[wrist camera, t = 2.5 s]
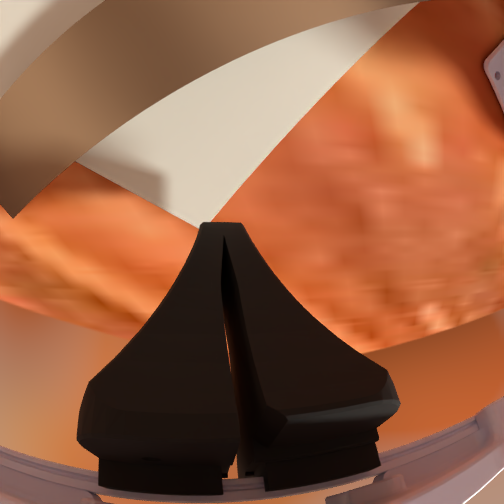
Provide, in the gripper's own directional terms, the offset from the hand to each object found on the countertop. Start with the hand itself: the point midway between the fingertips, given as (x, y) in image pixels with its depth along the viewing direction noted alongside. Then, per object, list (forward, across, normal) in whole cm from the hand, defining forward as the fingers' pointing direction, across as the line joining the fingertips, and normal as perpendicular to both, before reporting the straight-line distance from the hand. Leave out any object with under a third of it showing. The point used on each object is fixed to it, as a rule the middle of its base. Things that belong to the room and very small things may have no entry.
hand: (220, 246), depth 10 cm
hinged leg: (+2, +2, -7) cm, 7 cm away
